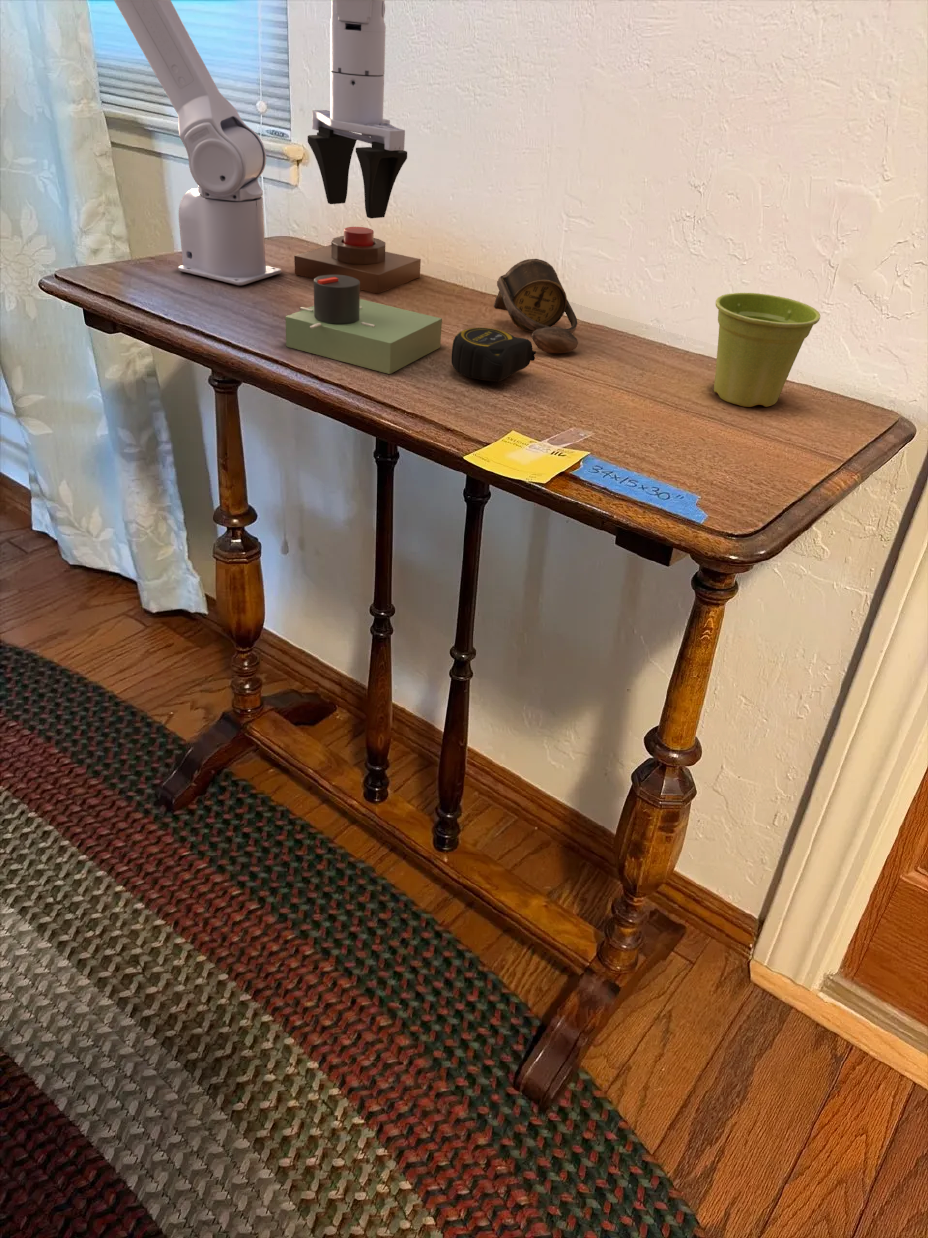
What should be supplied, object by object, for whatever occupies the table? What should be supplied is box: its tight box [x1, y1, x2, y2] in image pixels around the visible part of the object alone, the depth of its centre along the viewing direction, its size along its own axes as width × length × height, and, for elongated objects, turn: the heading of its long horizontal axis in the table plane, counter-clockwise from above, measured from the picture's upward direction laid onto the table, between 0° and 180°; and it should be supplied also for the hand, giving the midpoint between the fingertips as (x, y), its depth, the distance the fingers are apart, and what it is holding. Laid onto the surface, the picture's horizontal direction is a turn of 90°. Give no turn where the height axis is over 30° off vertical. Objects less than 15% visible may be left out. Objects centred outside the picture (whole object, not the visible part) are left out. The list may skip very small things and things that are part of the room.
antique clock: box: [493, 258, 579, 354], centre depth 99 cm, size 7×13×10 cm
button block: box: [293, 235, 422, 294], centre depth 114 cm, size 12×10×4 cm
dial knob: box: [313, 275, 361, 324], centre depth 90 cm, size 4×4×4 cm
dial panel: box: [284, 298, 443, 375], centre depth 92 cm, size 12×11×3 cm
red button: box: [343, 226, 375, 246], centre depth 112 cm, size 4×4×2 cm
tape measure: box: [451, 327, 537, 382], centre depth 88 cm, size 7×7×4 cm
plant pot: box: [713, 292, 821, 408], centre depth 88 cm, size 9×9×9 cm
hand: (355, 209), depth 106 cm, fingers open, 7 cm apart
